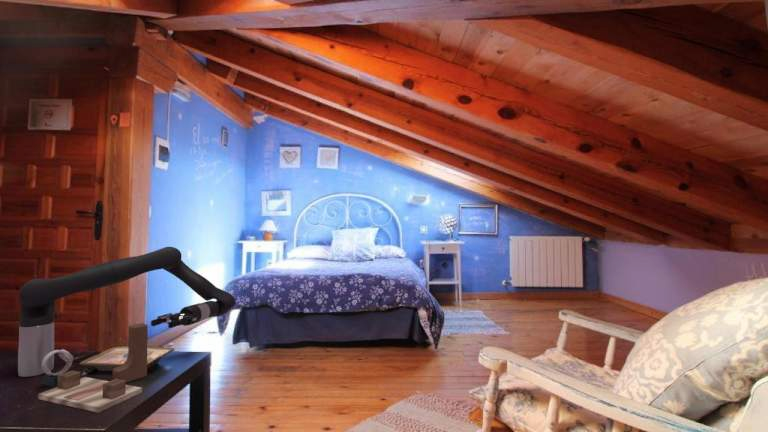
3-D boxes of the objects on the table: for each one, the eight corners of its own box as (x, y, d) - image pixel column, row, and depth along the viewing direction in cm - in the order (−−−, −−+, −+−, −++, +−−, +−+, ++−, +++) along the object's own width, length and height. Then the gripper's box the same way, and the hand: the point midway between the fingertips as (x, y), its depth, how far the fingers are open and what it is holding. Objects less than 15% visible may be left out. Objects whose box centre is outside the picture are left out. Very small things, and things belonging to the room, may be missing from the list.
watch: (76, 380, 125) (76, 347, 125) (47, 390, 117) (47, 355, 117) (66, 377, 127) (66, 345, 127) (37, 387, 119) (37, 353, 119)
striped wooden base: (38, 399, 111) (38, 380, 111) (84, 381, 124) (84, 364, 124) (98, 412, 103) (98, 393, 103) (141, 392, 115) (141, 374, 116)
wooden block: (117, 385, 120) (117, 330, 121) (112, 382, 123) (112, 328, 123) (147, 376, 128) (148, 324, 128) (142, 373, 130) (142, 322, 130)
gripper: (181, 303, 154) (145, 313, 138) (208, 305, 149) (174, 315, 134) (181, 321, 154) (146, 332, 138) (209, 324, 149) (175, 336, 134)
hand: (160, 324), depth 136 cm, fingers open, 8 cm apart
